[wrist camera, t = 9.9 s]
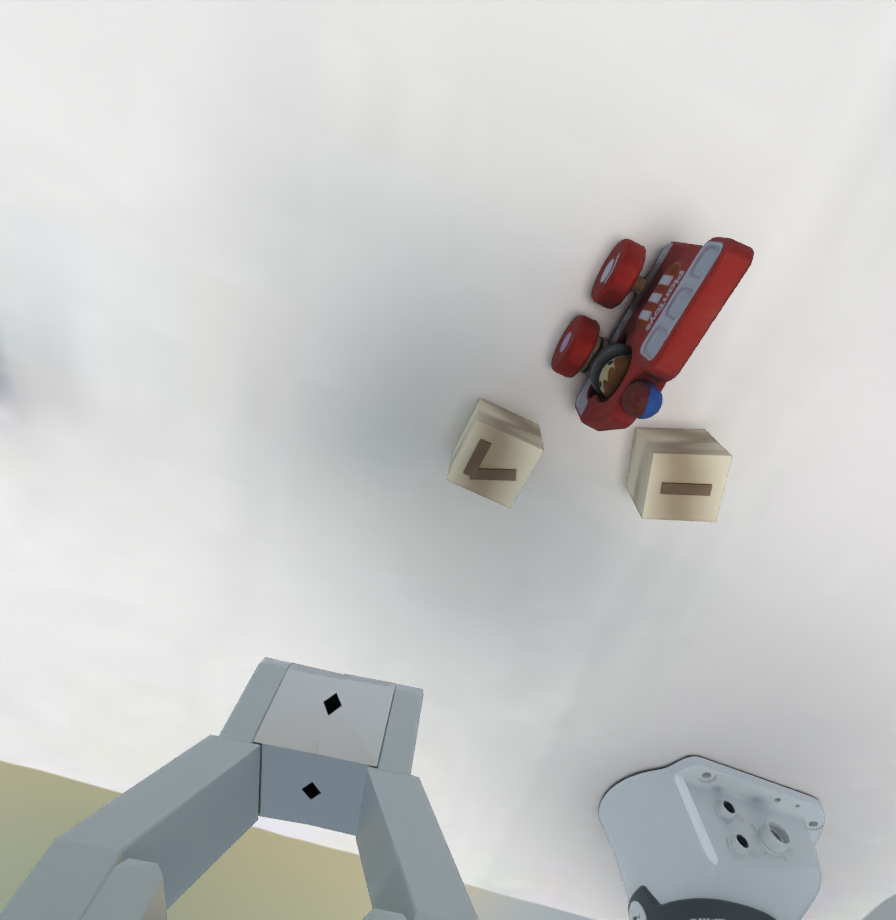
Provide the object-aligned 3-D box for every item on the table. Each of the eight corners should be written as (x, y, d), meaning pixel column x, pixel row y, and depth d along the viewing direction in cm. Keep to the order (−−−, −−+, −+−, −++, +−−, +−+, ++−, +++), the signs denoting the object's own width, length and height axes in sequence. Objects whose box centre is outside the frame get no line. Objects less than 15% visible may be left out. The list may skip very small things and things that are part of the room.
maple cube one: (704, 429, 38) (733, 457, 33) (691, 488, 40) (717, 523, 35) (635, 427, 38) (654, 454, 33) (626, 486, 40) (642, 520, 35)
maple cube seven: (538, 424, 39) (544, 451, 34) (509, 477, 41) (510, 509, 36) (479, 397, 38) (476, 420, 34) (452, 451, 40) (446, 481, 36)
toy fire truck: (535, 382, 37) (546, 433, 28) (629, 213, 32) (683, 205, 23) (617, 422, 38) (656, 486, 29) (722, 262, 33) (812, 275, 24)
